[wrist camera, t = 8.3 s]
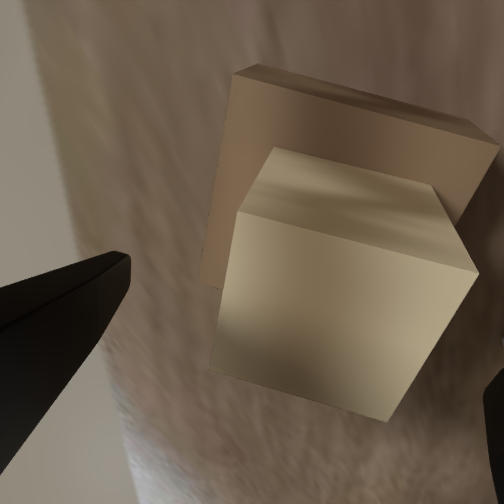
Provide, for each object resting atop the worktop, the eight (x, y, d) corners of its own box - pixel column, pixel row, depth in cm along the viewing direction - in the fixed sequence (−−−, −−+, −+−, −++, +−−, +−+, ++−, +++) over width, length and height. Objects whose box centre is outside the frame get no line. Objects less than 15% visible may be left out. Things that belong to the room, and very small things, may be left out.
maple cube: (431, 185, 12) (479, 273, 8) (374, 306, 14) (387, 422, 10) (273, 146, 12) (237, 210, 8) (247, 272, 15) (208, 370, 11)
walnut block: (465, 117, 14) (501, 146, 11) (381, 284, 19) (388, 341, 15) (259, 62, 15) (232, 74, 11) (224, 236, 19) (197, 281, 16)
